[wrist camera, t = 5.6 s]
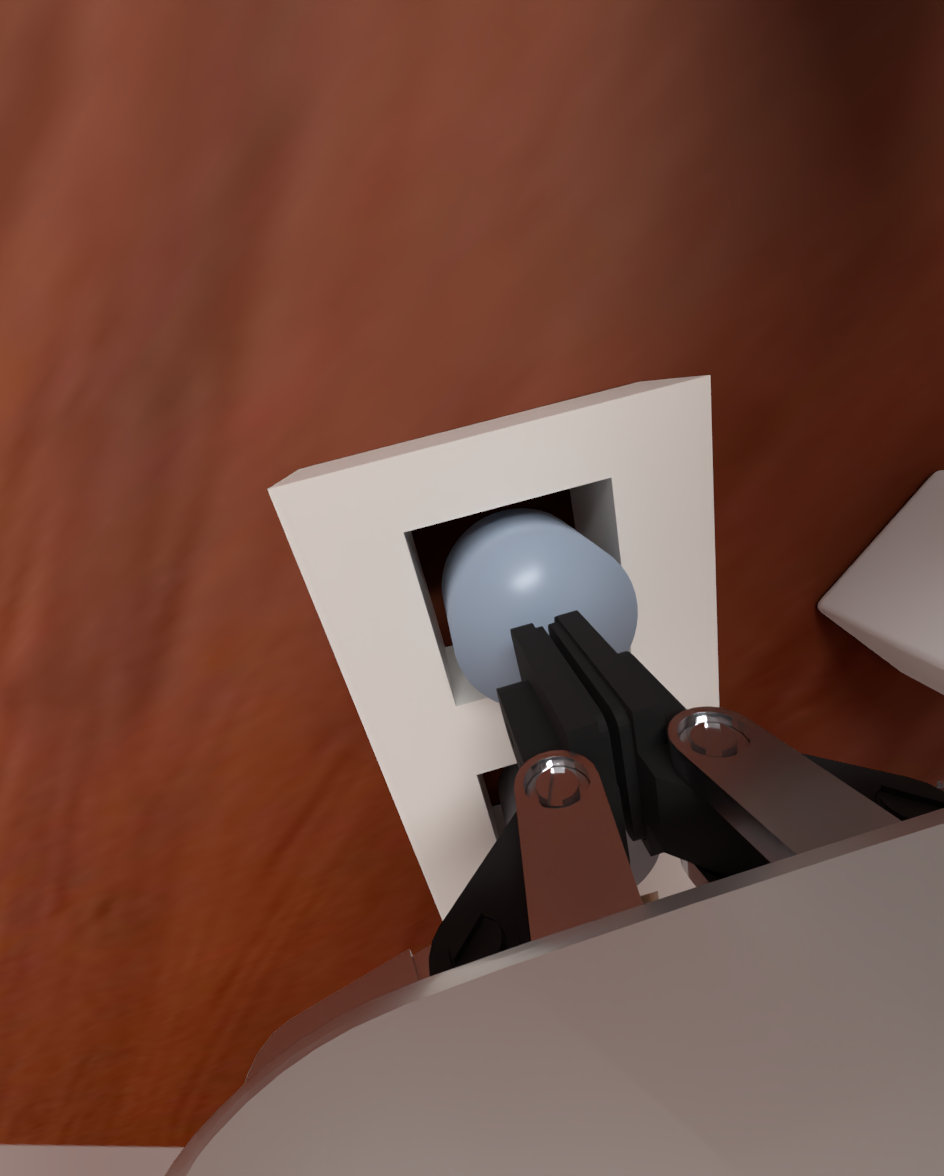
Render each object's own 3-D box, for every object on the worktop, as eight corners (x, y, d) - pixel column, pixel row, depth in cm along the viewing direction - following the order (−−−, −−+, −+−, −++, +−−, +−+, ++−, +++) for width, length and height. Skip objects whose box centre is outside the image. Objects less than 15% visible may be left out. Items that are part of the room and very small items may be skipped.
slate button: (423, 531, 14) (430, 567, 11) (578, 490, 15) (628, 514, 11) (461, 665, 16) (476, 730, 13) (597, 627, 17) (645, 681, 13)
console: (299, 469, 16) (267, 489, 12) (639, 381, 16) (710, 375, 12) (481, 959, 26) (494, 1050, 23) (681, 898, 27) (726, 976, 23)
